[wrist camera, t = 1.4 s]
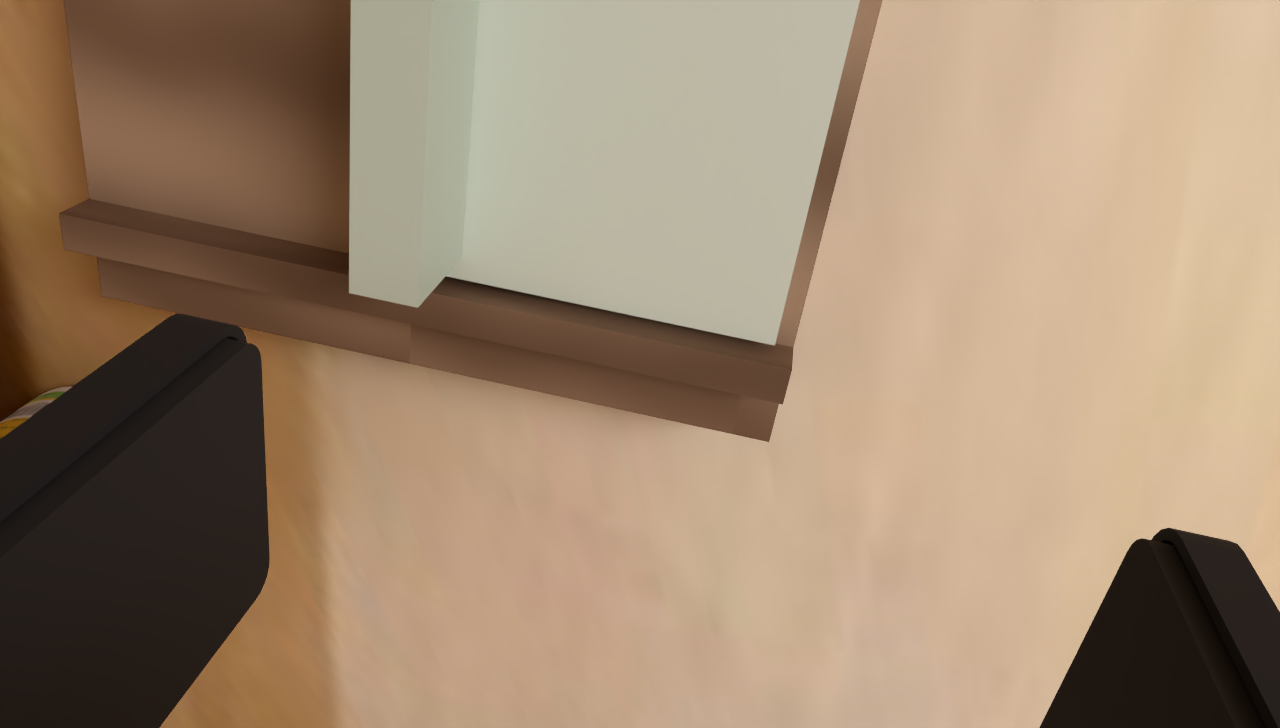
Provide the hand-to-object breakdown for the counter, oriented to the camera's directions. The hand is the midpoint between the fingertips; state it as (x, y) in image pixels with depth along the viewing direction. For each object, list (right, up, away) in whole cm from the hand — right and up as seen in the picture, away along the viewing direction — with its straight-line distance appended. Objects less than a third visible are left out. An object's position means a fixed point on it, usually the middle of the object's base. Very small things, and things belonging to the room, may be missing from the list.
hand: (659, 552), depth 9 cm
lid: (-1, +8, +13) cm, 16 cm away
